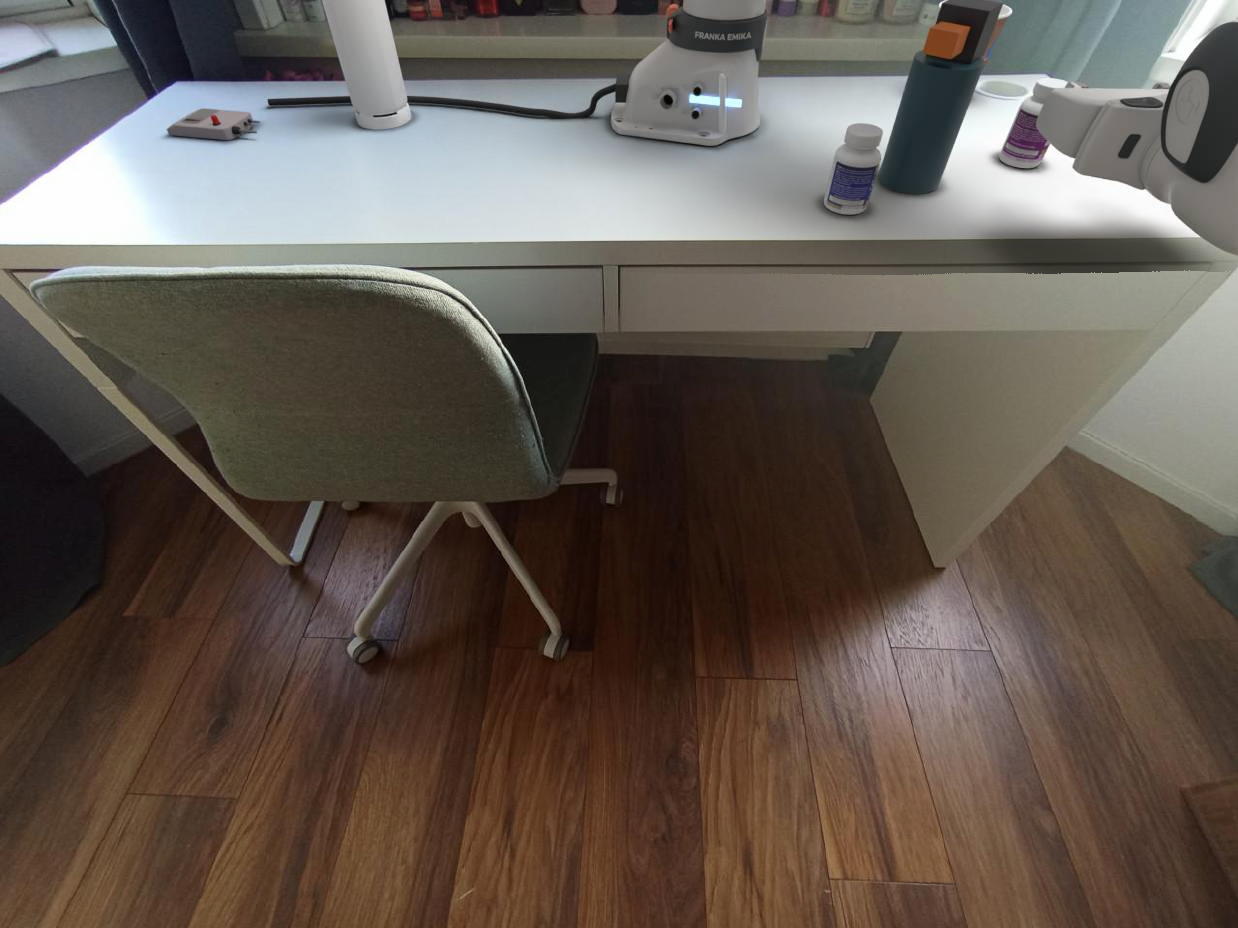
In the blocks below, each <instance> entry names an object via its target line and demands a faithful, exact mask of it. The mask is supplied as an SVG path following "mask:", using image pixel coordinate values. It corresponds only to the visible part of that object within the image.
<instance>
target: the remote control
mask: <svg viewBox="0 0 1238 928" xmlns="http://www.w3.org/2000/svg"><path fill="white" fill-rule="evenodd" d="M255 123H256V124H260V123H261V122H260V120H255V119H253V115H252V114H251V112H250V111H239V110H227V109H218V108H216V109H215V108H204V107H202V108H198V109H195V110H194V111H193V112H190V113H188V114H187V115H185V116H183V117H182V118H180V119H178V120H176V121H175V122H174V123H172V124H171V125H170V126H168V127H167V128H166V131H167V133H168V135H169V136H174V137H175V136H177V137H187V138H188V137H189V138H199V139H211V140H221V141H231V140H234V139H236V138H238V137H240V136H241V135H243V134H258V132H257V130H250V129H251V128H253V127H254V126H255Z"/></svg>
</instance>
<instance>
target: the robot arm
mask: <svg viewBox="0 0 1238 928" xmlns="http://www.w3.org/2000/svg"><path fill="white" fill-rule="evenodd" d="M766 4H767V0H682V6H680V5H678V4H676V3H672V4H670V5H668V8H667V9H666V13H665V19H666V39H665V41H664V42H662V43H661V44H660V45H659V46H657V47H656V48H655V49H654V50H653V51H651V52H650V53H649V54H648V55H647V56H646V57H644V58H643V59H642V60H640V61H639V62H638V64H637V65H635V67H634V69H633V70H632V72H631V74H627V73H626V74H625V73H623V74H622V73H618V74H617V75H616V79H615V83H613V84H611V85H608V86H605V87H603V88H601V89H599V90H598V91H596V92H595V93H594V94H593V95H592V97H591V100H590V104H589V106H588V108H587V109H585V110H583V111H580V112H564V111H557V110H552V109H545V108H533V107H524V106H517V105H511V104H503V103H496V102H488V101H481V100H480V101H479V100H473V99H463V98H452V97H441V96H440V97H438V96H423V95H407V103H408V104H423V105H425V104H426V105H427V104H428V105H441V106H452V107H463V108H464V107H465V108H474V109H480V110H481V109H482V110H489V111H498V112H506V113H511V114H517V115H523V116H533V117H546V118H552V119H557V120H559V119H560V120H571V119H572V120H573V119H586V118H589V117H591V116H592V115H594V113H595V111H596V110H597V105H598V102H599V100H601V98H604V97H605V96H608V95H610V94H613V93H614V97H615V98H614V99H615V101H614V103H615V104H614V105H613V107H612V110H611V114H610V115H611V116H610V126H611V128H612V130H614V131H615V133H617V134H619V135H622V136H623V135H624V136H631V137H639V138H647V139H654V140H662V141H670V142H678V143H685V144H693V145H699V146H708V147H714V146H718V145H720V144H723V143H725V142H726V141H728V140H732V139H736V138H740V137H744V136H746V135H749V134H751V133H753V132H754V131H756V130H757V129H758V128H760V124H761V118H760V109H759V68H760V67H759V66H760V61H761V59H762V54H763V53H764V47H765V41H766V34H767V27H768V11H767V9H766ZM1067 82H1068V83H1067V84H1066V86H1065V88H1056V89H1054V90H1053V91H1052V92H1051V93H1050V94H1049V95H1048V97H1047V99H1046V100H1045V102H1044V104H1043V106H1042V108H1041V111H1040V113H1039V115H1038V118H1037V122H1036V127H1037V129H1038V131H1039V132H1040V133H1041V134H1042V135H1043V136H1044V138H1045V139H1046V140H1047V141H1048V142H1049V143H1050V146H1052V147H1053V148H1054V149H1055V150H1057V151H1058V152H1059V153H1061V154H1062V155H1064V156H1067V157H1069V158H1072V159H1074V160H1073V163H1072V169H1073V170H1074V172H1076V173H1077V174H1079V175H1082V176H1084V177H1085V176H1087V177H1091V178H1097V179H1103V180H1108V181H1113V182H1118V183H1120V184H1124V185H1127V186H1129V187H1132V188H1134V189H1136V190H1139V191H1147V192H1148V193H1149V194H1150V195H1151V196H1152V197H1154V198H1155V199H1156V200H1158V201H1159V202H1161V203H1165V204H1167V205H1169V206H1171V210H1172V212H1173V214H1174V215H1175V217H1177V219H1178V220H1179V221H1181V222H1182V223H1183V224H1184V225H1185V226H1186V227H1188V228H1189V229H1190V230H1191V231H1192V232H1193V233H1195V234H1196V235H1197V236H1199V237H1200V238H1202V239H1203V240H1205V242H1208V243H1209V244H1210V245H1212V246H1214V247H1216V248H1217V249H1219V250H1221V251H1223V252H1225V253H1228V254H1231V255H1234V256H1237V257H1238V18H1235V19H1233V20H1231V21H1229V22H1225V23H1223V24H1220V25H1218V26H1217V27H1215V28H1214V29H1212V30H1211V31H1210V32H1208V33H1207V35H1206V36H1205V37H1204V38H1202V40H1201V41H1200V42H1199V43H1198V44H1197V45H1196V46H1195V48H1194V49H1193V50H1192V52H1190V54H1189V55H1188V56H1187V58H1186V60H1185V61H1184V62H1183V64H1182V65H1181V67H1180V69H1179V71H1178V72H1177V73H1176V75H1175V77H1174V79H1173V81H1172V82H1157V83H1155V84H1154V85H1152V87H1151V88H1105V87H1104V88H1102V87H1101V88H1100V87H1098V88H1097V87H1095V88H1092V87H1089V85H1088V84H1085V82H1083V81H1067ZM267 104H268V106H269V107H278V106H279V107H280V106H281V107H282V106H283V107H284V106H307V105H308V106H309V105H311V106H312V105H335V104H336V105H337V104H352V102H351V98H350V95H340V96H339V95H338V96H337V95H336V96H311V97H309V96H308V97H307V96H306V97H285V98H284V97H283V98H281V97H279V98H267Z"/></svg>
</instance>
